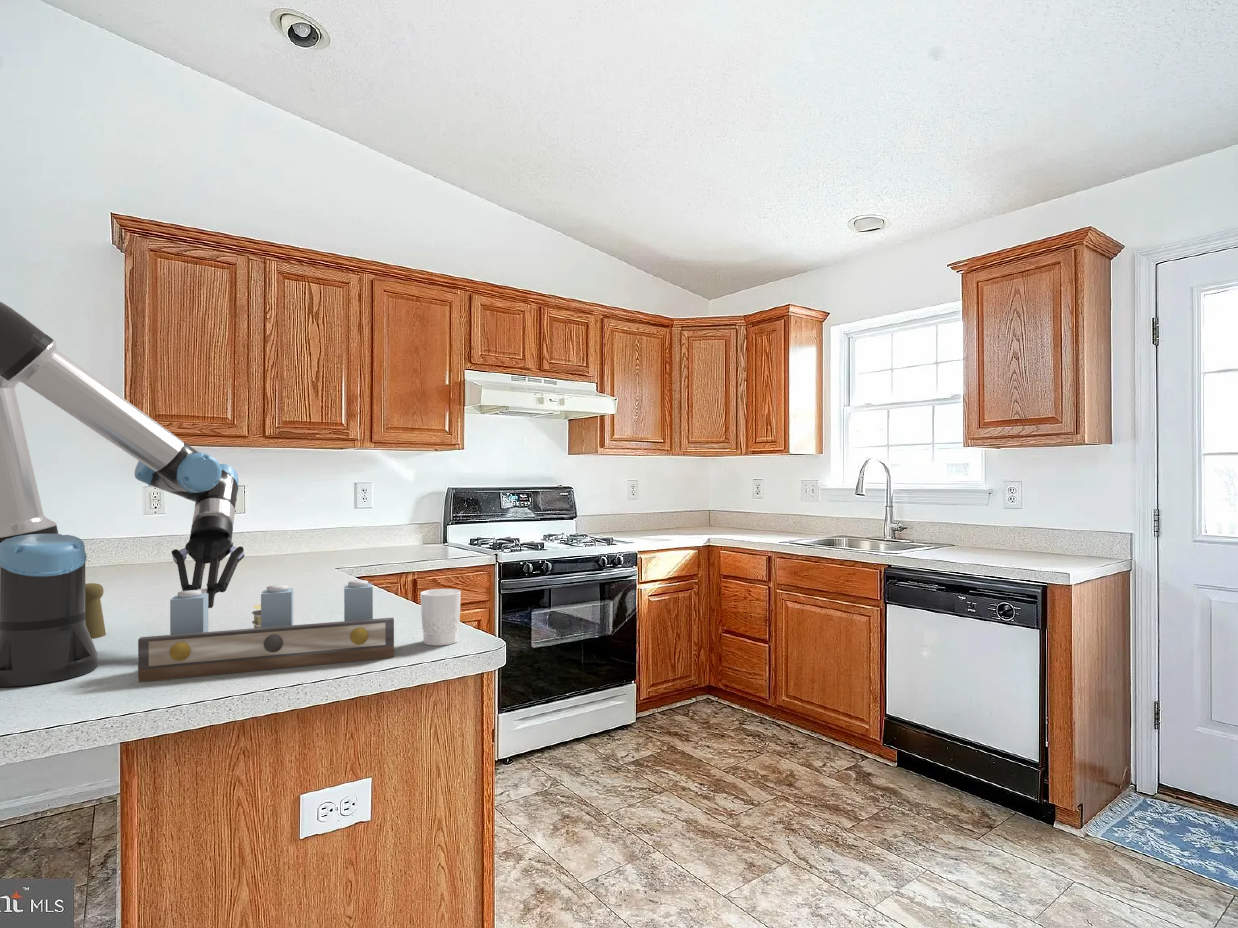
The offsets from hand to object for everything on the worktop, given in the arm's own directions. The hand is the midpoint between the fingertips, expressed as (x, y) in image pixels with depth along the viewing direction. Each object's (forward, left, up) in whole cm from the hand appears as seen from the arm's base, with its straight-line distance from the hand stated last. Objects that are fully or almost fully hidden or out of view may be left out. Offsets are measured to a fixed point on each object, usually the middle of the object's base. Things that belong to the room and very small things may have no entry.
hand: (199, 621), depth 133 cm
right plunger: (+25, -14, -4) cm, 29 cm away
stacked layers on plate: (+14, +16, -7) cm, 23 cm away
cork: (-17, +32, -7) cm, 37 cm away
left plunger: (-2, -7, -4) cm, 8 cm away
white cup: (+40, -18, -7) cm, 44 cm away
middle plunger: (+11, -11, -4) cm, 16 cm away
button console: (+11, -12, -6) cm, 17 cm away
